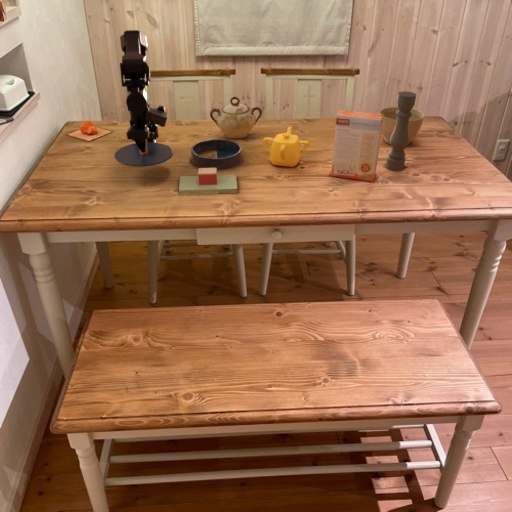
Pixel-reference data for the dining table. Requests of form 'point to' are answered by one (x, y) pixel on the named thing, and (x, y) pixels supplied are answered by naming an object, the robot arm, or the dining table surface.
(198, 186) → the board
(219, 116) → the sugar bowl
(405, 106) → the candle holder
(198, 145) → the pot
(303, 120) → the dining table surface
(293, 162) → the teapot
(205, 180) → the meat
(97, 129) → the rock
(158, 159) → the lid
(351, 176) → the cracker box
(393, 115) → the planter bowl
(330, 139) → the dining table surface
